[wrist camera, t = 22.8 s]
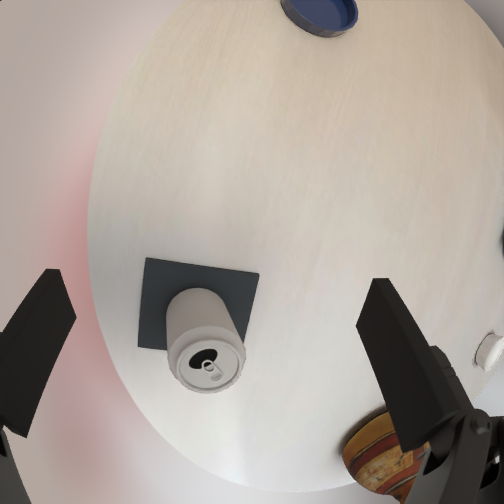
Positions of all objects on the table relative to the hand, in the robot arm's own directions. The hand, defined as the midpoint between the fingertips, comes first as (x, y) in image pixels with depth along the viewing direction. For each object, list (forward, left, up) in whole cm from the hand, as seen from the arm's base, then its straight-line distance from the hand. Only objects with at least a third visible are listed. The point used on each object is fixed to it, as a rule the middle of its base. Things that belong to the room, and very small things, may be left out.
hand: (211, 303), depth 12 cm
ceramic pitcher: (+47, -40, -24) cm, 67 cm away
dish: (+10, +34, -24) cm, 43 cm away
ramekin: (+85, -20, -24) cm, 91 cm away
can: (+3, -11, -23) cm, 26 cm away
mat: (+3, -11, -24) cm, 26 cm away
